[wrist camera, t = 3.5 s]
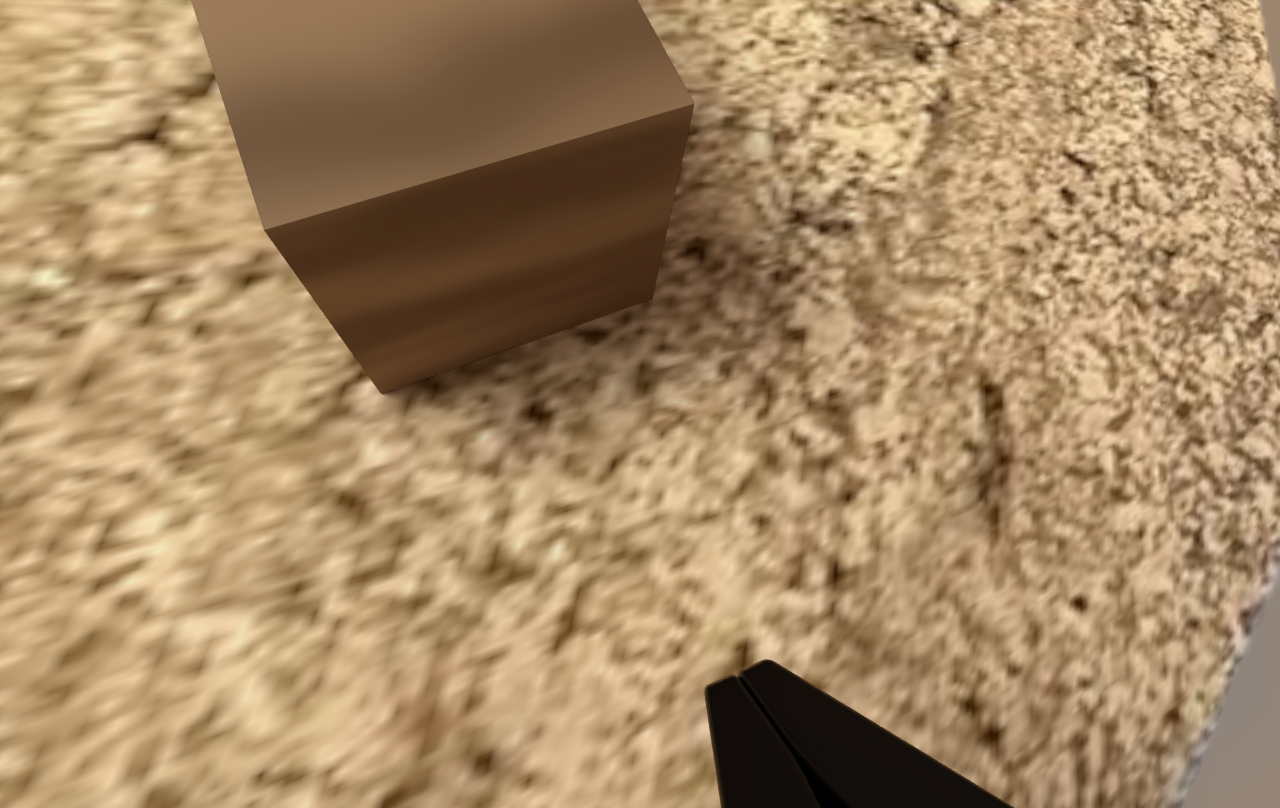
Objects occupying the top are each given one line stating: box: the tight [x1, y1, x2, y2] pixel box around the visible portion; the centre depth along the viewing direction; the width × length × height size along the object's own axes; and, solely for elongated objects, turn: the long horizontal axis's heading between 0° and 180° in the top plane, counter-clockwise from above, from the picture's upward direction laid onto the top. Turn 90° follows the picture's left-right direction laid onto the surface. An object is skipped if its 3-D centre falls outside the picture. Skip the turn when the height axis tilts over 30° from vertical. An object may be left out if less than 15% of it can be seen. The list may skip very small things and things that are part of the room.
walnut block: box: [191, 0, 694, 394], centre depth 21 cm, size 16×9×9 cm, turn 24°
